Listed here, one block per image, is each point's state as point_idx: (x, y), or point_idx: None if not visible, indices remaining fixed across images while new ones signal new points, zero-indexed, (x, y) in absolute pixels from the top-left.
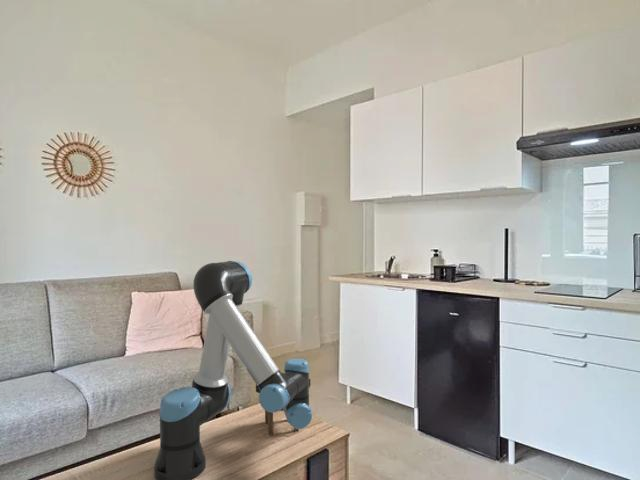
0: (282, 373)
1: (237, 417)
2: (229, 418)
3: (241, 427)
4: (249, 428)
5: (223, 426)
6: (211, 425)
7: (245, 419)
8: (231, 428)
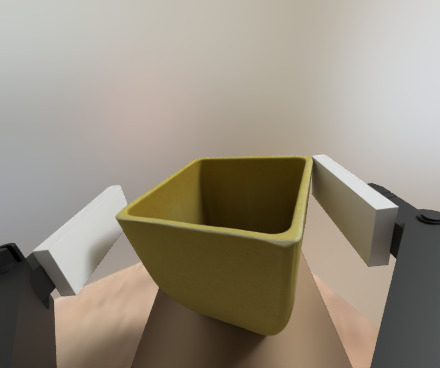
0: (231, 162)
1: (139, 278)
2: (119, 280)
3: (115, 343)
4: (133, 358)
5: (77, 323)
6: (57, 310)
7: (151, 291)
8: (86, 343)
